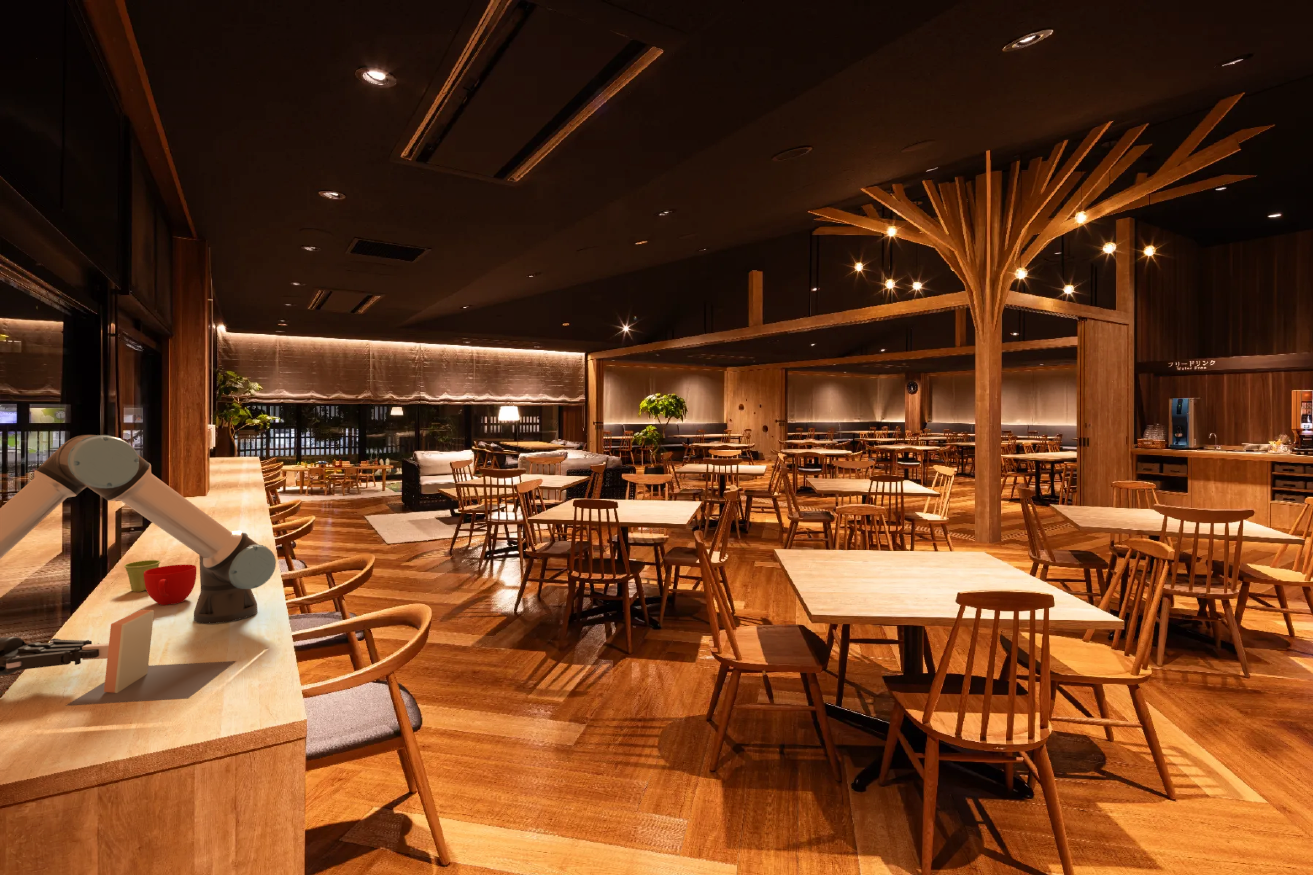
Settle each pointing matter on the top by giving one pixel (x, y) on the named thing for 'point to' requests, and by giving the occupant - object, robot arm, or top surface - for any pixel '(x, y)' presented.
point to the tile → (128, 650)
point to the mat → (159, 684)
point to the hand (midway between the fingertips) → (119, 650)
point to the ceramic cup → (170, 583)
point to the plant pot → (139, 573)
